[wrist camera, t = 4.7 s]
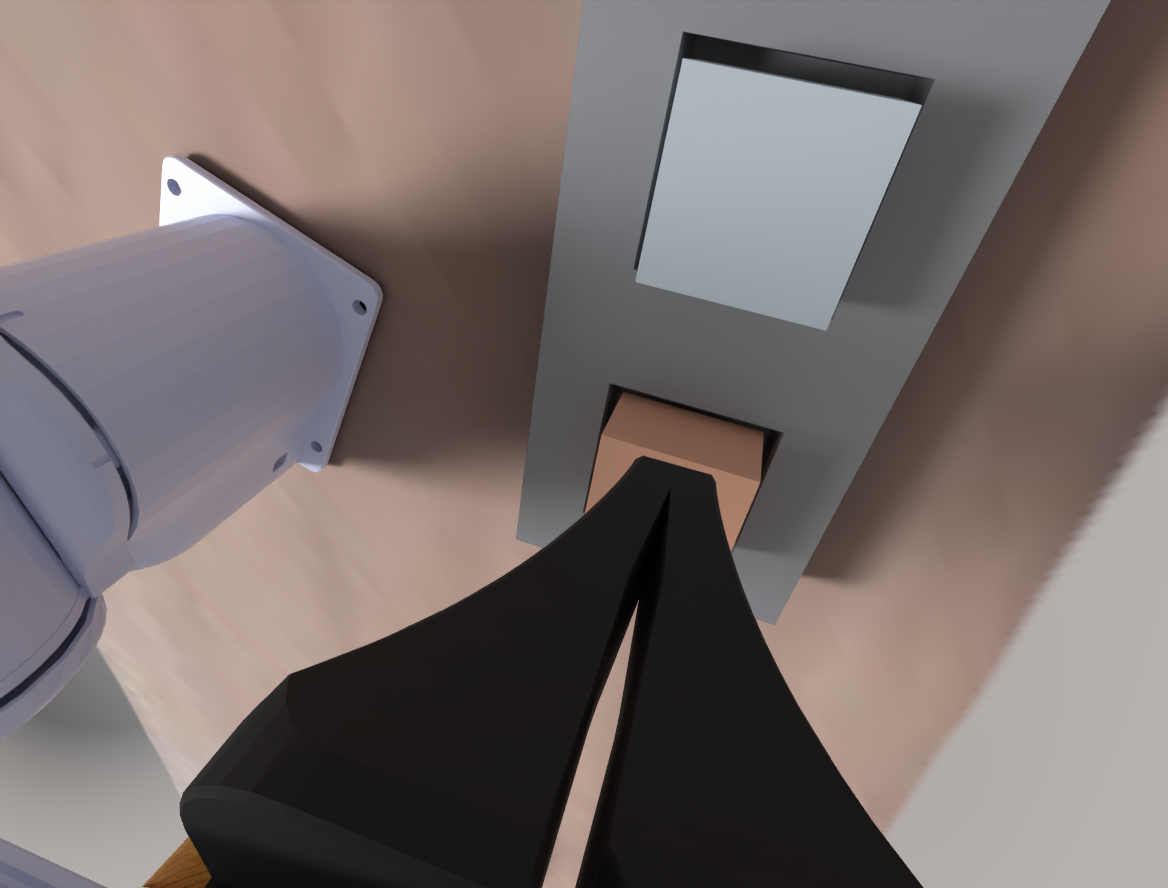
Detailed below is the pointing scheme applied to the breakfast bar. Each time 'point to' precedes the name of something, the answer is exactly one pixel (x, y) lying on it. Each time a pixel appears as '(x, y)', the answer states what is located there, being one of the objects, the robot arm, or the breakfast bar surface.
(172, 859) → the disposable coffee cup
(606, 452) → the terracotta key
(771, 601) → the key panel
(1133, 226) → the breakfast bar surface
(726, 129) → the slate key
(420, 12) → the breakfast bar surface
